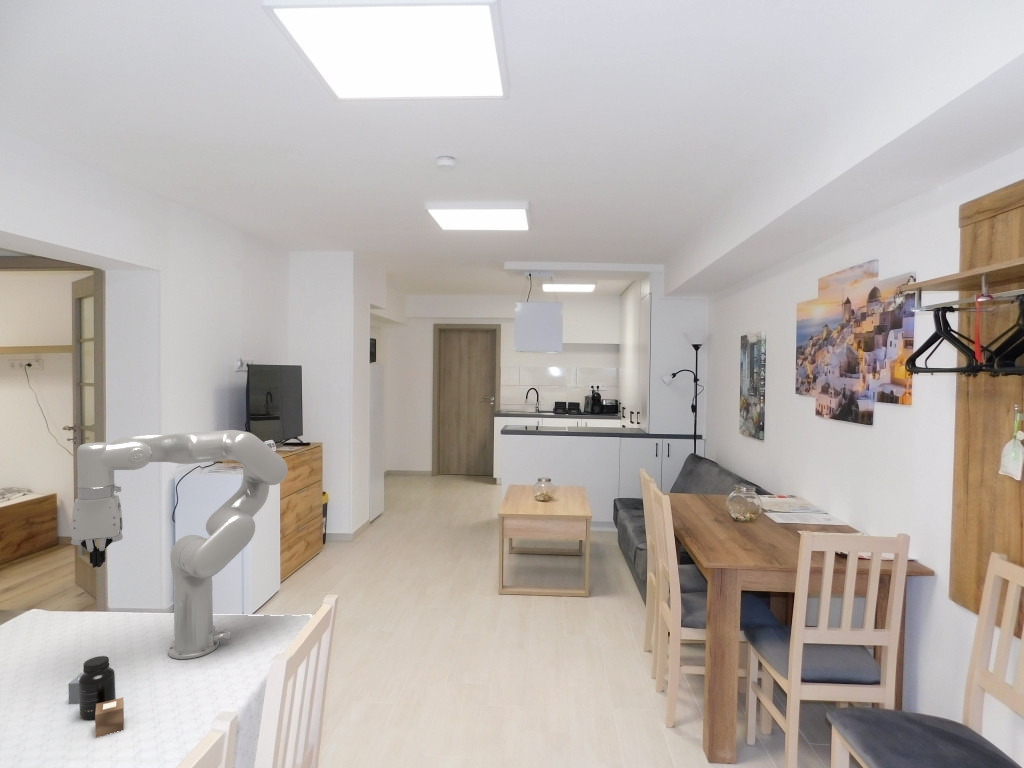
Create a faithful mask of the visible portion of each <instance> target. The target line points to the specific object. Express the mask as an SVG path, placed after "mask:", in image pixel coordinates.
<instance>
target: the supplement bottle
mask: <svg viewBox="0 0 1024 768" xmlns="http://www.w3.org/2000/svg"><path fill="white" fill-rule="evenodd" d="M82 669H83V670H82V671H83V672H82V673H84V674H83V675H82V676H81V677H80V679H79V704H78V706H79V716H80V718H81V719H83V720H85V721H87V720H88V721H92V720H93V721H94V720H95V712H96V704H98V703H102V702H106V701H110V700H114V699H117V698H116V697H117V696H116V672H115V670H114V669H113V668H112V667H111V666H110V659H109V657H108V656H107V655H99V656H94V657H91V658H89V659H87V660H86V661H84V662H83V668H82Z"/></svg>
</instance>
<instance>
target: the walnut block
mask: <svg viewBox="0 0 1024 768" xmlns="http://www.w3.org/2000/svg"><path fill="white" fill-rule="evenodd" d="M124 702H125V701H124V697H119V698H116V699H114V700H110V701H106V702H102V703H98V704H96V712H95V719H94V720H95V723H94V724H95V725H94V726H95V729H94V731H95V738H100V736H101V737H104V736H108V735H111V734H110V733H112V734H115V733H118V732H117V731H119V732H122V731H121V730H123V731H124V725H125V724H124V723H125V717H124V716H125V715H124V714H125V711H124V706H125V705H124ZM114 732H115V733H114ZM107 734H108V735H107Z"/></svg>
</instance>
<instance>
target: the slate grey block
mask: <svg viewBox="0 0 1024 768" xmlns="http://www.w3.org/2000/svg"><path fill="white" fill-rule="evenodd" d="M83 674H84V672H80V673H78V675H76V676H75V677H74V678H73V679H72V680H71V681H70V682H69V683H68V685H67V686H68V687H67V688H68V705H79V679H80V677H81V676H82V675H83Z"/></svg>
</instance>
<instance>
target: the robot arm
mask: <svg viewBox="0 0 1024 768" xmlns="http://www.w3.org/2000/svg"><path fill="white" fill-rule="evenodd" d="M229 460H233V461H236V462H239V463H240V464H241V465H242V476H243V477H242V482H241V485H240V487H239V488H238V489H237V491H236V492H235V493H234V494H233V495H232V496H231V497H230V498H229V499H227V501H225V502H224V503H223V504H222V505H221V506H220V507H219V508H218V509H216V511H213V513H212V514H211V515H210V516H209V517H208V519H207V520H206V523H205V531H206V532H207V534H208V538H206V537H204V536H201V535H197V534H188V535H185V536H183V537H181V538H179V539H178V540H177V541H176V542H175V543H174V545H173V546H172V548H171V551H170V567H171V574H172V579H173V580H172V581H173V614H174V615H173V621H174V623H173V626H174V628H173V631H174V635H173V636H174V642H173V643H172V644H171V645H170V646H169V647H168V649H167V653H168V654H167V655H168V656H169V657H171V658H173V659H176V660H188V659H189V660H190V659H194V658H195V659H196V658H200V657H203V656H206V655H208V654H210V653H212V652H213V651H215V650H216V649H217V648H218V647H219V646H220V641H221V640H224V641H225V640H230V639H231V631H227V629H221V630H218V629H216V626H215V625H214V616H213V615H214V614H213V611H214V609H213V607H214V605H213V604H214V603H213V589H214V587H213V577H215V575H217V574H218V573H220V572H222V570H224V568H225V567H227V565H228V564H229V563H231V561H233V559H235V558H236V556H238V555H239V554H240V553H241V551H242V550H244V549H245V548H246V547H247V546H248V545H249V543H250V542H251V541H252V539H253V537H254V535H255V532H256V523H255V522H256V521H255V520H254V518H253V517H255V516H256V514H257V513H258V512H260V510H261V509H262V508H263V507H264V505H265V503H266V502H267V499H268V497H269V492H270V486H276V485H279V484H280V483H282V482H283V481H284V480H285V479H286V477H287V476H288V471H289V467H288V463H287V462H286V461H285V459H284V458H283V457H282V456H281V455H280V454H278V453H277V452H276V451H275V450H274V449H272V447H270V446H269V445H268V444H267V443H265V442H264V441H262V440H261V439H260V438H259V437H257V435H255V434H254V433H252V432H249V431H244V430H239V429H238V430H237V429H228V430H227V429H226V430H214V431H213V430H211V431H200V432H197V431H196V432H184V433H183V432H181V433H180V432H179V433H171V434H169V433H168V434H151V435H150V434H148V435H135V436H133V435H132V436H123V437H120V438H116V439H114V440H113V441H112V442H104V441H103V442H102V441H101V442H88V443H83V444H81V445H79V446H78V447H77V450H76V464H77V471H76V472H77V498H75V499H74V503H73V507H72V508H73V509H72V514H71V515H72V516H71V526H70V527H71V529H70V530H71V531H70V534H71V541H70V544H71V545H73V546H81V547H83V548H84V549H86V550H87V552H88V553H89V564H90V565H91V566H92V569H94V568H101V567H102V566H103V565H104V563H106V549H107V548H108V547H109V545H111V544H113V543H116V542H120V541H122V539H124V535H123V533H122V531H123V530H124V529H123V528H124V526H123V525H124V524H123V514H122V512H123V511H122V504H121V500H120V497H119V495H116V494H117V493H121V492H122V486H118V485H116V483H115V471H136V470H140V469H143V468H144V467H146V466H147V465H149V464H150V463H172V464H173V463H174V464H179V465H190V464H191V465H193V464H194V465H195V464H200V463H210V462H216V461H217V462H218V461H219V462H220V461H229ZM96 540H99V547H97V543H96Z"/></svg>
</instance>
